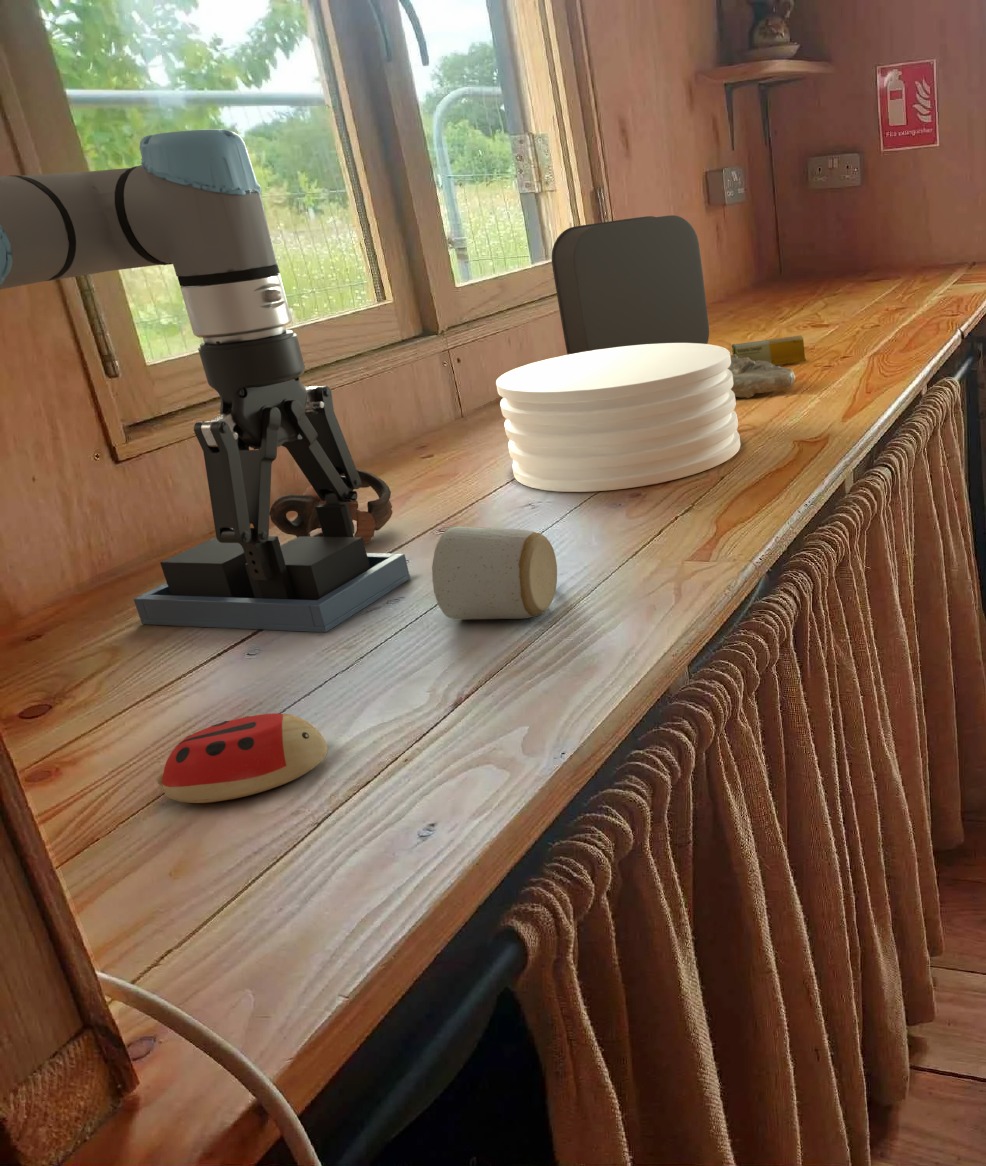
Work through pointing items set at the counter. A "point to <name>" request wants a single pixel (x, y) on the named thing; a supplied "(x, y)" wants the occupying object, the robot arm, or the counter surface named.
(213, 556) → the seated pad
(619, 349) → the plate stack
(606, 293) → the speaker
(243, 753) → the ladybug figurine
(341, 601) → the pad tray
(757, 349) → the medication box
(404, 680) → the counter surface
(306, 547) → the loose pad
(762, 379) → the elongated rock
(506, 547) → the ceramic mug
